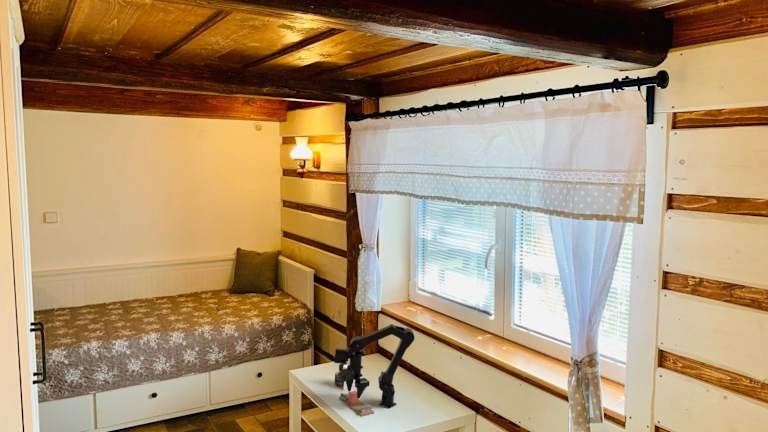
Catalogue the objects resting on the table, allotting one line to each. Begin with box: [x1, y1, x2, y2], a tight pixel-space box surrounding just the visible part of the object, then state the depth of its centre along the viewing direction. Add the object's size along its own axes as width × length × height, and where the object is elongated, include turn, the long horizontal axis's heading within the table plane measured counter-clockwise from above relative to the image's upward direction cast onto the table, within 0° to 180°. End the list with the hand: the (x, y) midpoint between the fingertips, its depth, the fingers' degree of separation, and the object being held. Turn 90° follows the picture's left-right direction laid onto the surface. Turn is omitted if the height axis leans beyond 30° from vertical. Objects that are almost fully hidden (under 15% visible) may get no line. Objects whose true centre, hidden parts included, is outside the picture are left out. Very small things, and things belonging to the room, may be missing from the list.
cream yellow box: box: [334, 362, 354, 391], centre depth 292 cm, size 7×7×12 cm
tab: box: [343, 390, 359, 403], centre depth 274 cm, size 10×4×4 cm, turn 33°
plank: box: [338, 392, 375, 417], centre depth 269 cm, size 22×7×4 cm, turn 33°
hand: (353, 394), depth 271 cm, fingers open, 9 cm apart
